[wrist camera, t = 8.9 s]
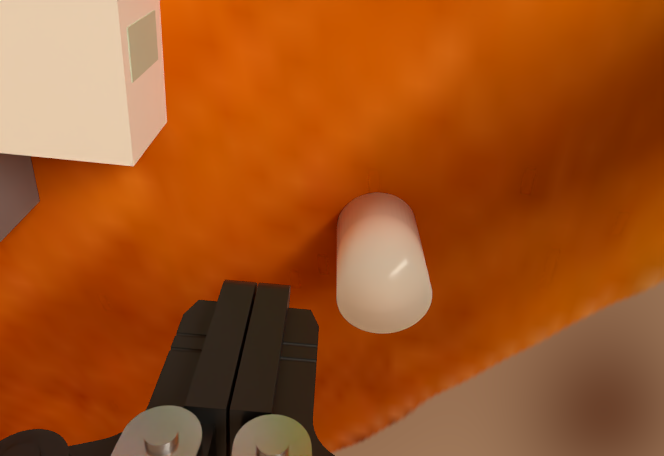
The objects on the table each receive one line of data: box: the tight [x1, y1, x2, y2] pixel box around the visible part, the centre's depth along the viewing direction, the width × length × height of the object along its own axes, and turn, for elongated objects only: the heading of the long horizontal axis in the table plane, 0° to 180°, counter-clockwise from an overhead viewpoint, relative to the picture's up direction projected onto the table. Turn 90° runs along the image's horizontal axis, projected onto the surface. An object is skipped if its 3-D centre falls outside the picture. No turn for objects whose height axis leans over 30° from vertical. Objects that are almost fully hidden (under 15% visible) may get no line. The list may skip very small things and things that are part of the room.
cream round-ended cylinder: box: [337, 193, 432, 334], centre depth 31 cm, size 5×5×7 cm
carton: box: [0, 0, 167, 166], centre depth 25 cm, size 8×10×6 cm
